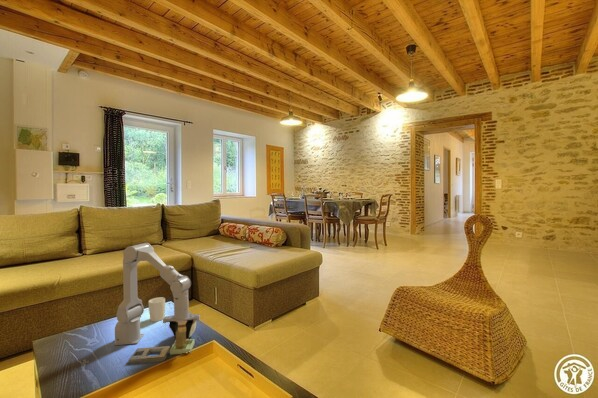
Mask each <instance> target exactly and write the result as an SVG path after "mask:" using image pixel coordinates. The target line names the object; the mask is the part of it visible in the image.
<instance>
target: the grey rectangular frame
mask: <svg viewBox="0 0 598 398" xmlns="http://www.w3.org/2000/svg"><path fill="white" fill-rule="evenodd" d="M170 349H171V346H170V345H165V346H155V347H153V346H152V347H141V348H140V347H139V348H137V349H136V350H135V351H134V352H133V354H132V355H131V356H130V358H129V359H128V364H140V363H152V362H153V363H154V362H163V361H165V360H166V359H167V356H168V355H169V354H170ZM152 353H153V354H154V353H155V354H156V353H159V355H150V354H152Z"/></svg>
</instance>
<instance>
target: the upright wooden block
mask: <svg viewBox="0 0 598 398" xmlns="http://www.w3.org/2000/svg"><path fill="white" fill-rule="evenodd" d="M186 333H187V331H186V327H184V328H178V329H177V331H176V349H183V348H187V345H188V343H189V340H188V339H189V338H188V339H187V337H186Z"/></svg>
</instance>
